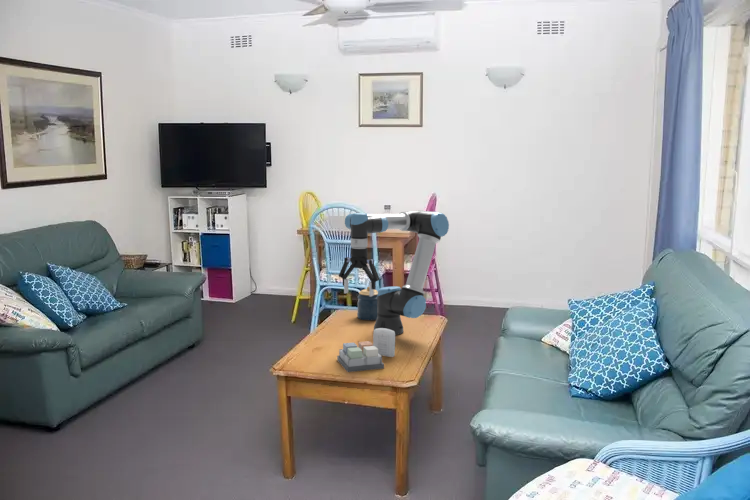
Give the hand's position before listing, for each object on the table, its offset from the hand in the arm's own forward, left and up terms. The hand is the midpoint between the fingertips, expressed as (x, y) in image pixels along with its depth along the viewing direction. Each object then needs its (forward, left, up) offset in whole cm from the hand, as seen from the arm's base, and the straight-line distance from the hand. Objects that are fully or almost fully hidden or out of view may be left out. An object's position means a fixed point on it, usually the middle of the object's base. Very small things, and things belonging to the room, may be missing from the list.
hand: (358, 294), depth 281 cm
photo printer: (-9, +9, -27) cm, 30 cm away
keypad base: (+5, +18, -26) cm, 32 cm away
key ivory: (+1, +22, -22) cm, 31 cm away
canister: (-23, -55, -27) cm, 65 cm away
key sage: (+8, +22, -22) cm, 32 cm away
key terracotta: (+1, +15, -22) cm, 26 cm away
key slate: (+8, +15, -22) cm, 28 cm away
